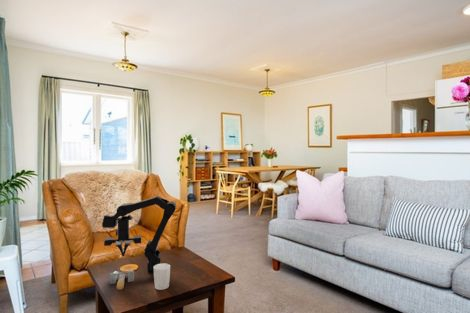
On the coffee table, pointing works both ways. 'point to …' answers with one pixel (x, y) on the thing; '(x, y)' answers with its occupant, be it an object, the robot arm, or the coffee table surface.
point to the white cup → (161, 276)
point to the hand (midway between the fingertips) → (123, 256)
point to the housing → (114, 275)
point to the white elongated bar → (121, 282)
